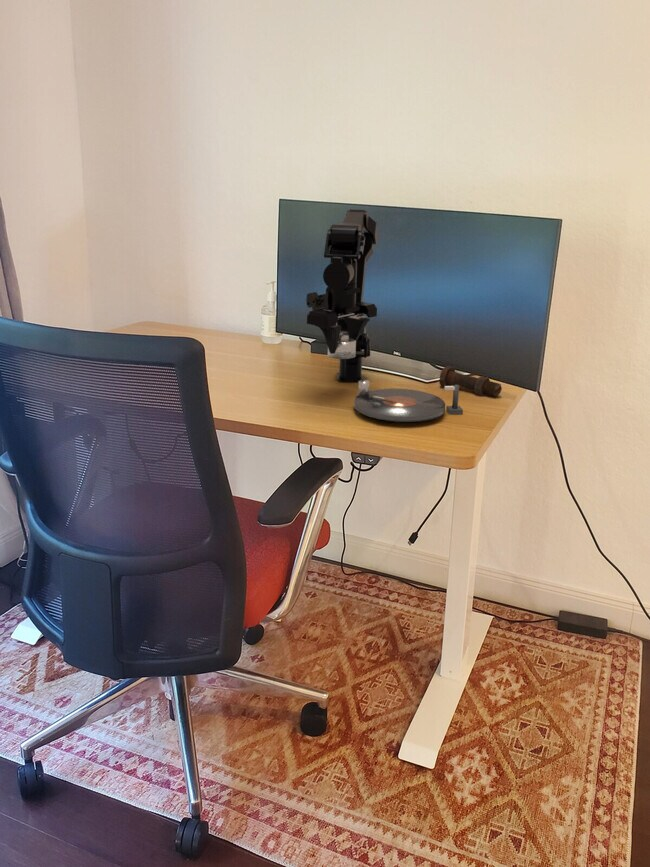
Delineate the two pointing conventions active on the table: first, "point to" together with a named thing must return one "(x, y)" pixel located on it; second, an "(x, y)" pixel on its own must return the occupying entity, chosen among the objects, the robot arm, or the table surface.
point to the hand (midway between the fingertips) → (341, 351)
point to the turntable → (397, 404)
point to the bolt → (469, 382)
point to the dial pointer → (454, 400)
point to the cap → (344, 347)
